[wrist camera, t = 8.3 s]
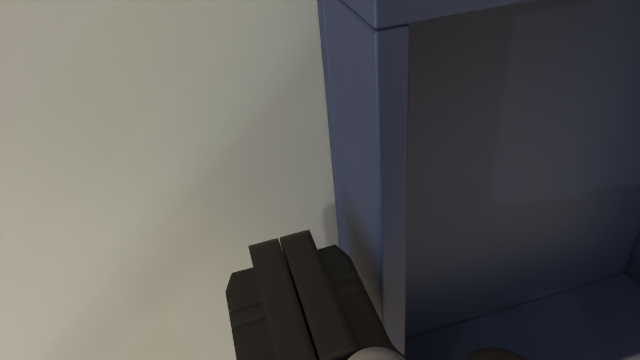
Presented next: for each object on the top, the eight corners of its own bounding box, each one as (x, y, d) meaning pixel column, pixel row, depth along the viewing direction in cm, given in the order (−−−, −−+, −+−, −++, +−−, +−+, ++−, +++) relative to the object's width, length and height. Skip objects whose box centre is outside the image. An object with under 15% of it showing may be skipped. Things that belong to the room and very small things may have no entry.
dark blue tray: (311, -53, 10) (373, -10, 7) (769, -124, 12) (959, -111, 9) (348, 352, 18) (385, 449, 15) (622, 270, 20) (701, 343, 17)
